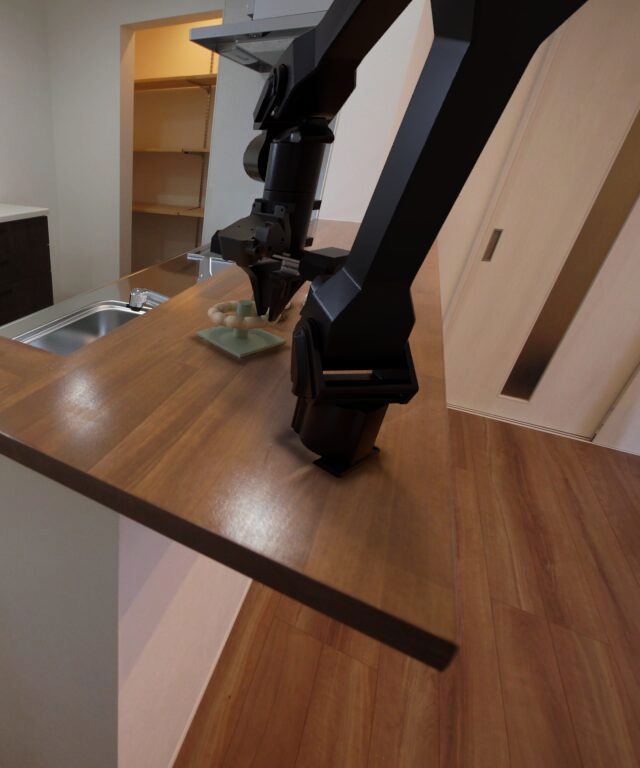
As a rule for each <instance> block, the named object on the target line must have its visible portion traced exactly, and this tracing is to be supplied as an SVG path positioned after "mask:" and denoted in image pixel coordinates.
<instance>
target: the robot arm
mask: <svg viewBox="0 0 640 768" xmlns="http://www.w3.org/2000/svg"><path fill="white" fill-rule="evenodd" d="M413 1H414V0H333V1H332V2H331V4H330V6H329V7H328V9H327V11H326V12H325V14H324V15H323V17H322V18H321V20H320V21H319V22H318V24H317V25H315V26H314V27H312V28H309V30H307V31H305V32H303V33H302V34H301V33H300V34H299V35H297V36H296V37H294V39H293V40H292V41H291V42H290V44H289V45H288V46H287V47H286V49H285V50H284V51H283V53H282V54H281V55H280V57H279V59H278V60H277V62H276V64H274V65H273V66H272V68H271V70H270V72H269V74H268V77H267V78H266V79H265V83H264V85H263V87H262V90H261V91H260V92H261V93H260V94H259V96H258V99H257V102H256V105H255V107H254V110H253V112H252V118H253V123H252V130H253V131H261V133H260V134H258V135H256V136H254V137H253V138H252V139H251V140H250V141H249V143H248V145H246V148H245V151H244V152H243V156H242V165H243V170H244V172H245V174H246V175H247V176H248V177H249V178H250V179H252V180H253V181H255V182H259V183H263V184H264V187H263V192H262V197H258V198H257V197H256V198H254V200H253V201H254V202H252V204H251V210H250V214H249V215H247V216H245V217H244V216H243V217H241V218H239V219H237V220H236V221H234V222H232V223H231V224H229V225H227V226H226V227H224V228H223V229H222V228H221V229H216V231H215V232H214V234H213V235H212V236H211V238H210V246H209V252H210V253H213V254H216V255H219V256H221V259H222V260H223V261H225V262H228V261H231V262H233V263H235V265H236V266H237V267H238V268H241V270H242V271H243V272H245V273H246V275H247V276H248V279H249V282H250V285H251V291H252V295H254V300H255V305H256V311H257V316H263V315H266V313H267V311H268V308H269V313H268V321H269V322H274V321H276V320H277V318H278V317H279V315H280V314H281V313H282V311H283V310H284V311H285V309H284V308H285V307H286V306H287V304H288V303H289V302H290V303H291V300H292V299H293V298H294V296H295V295H296V293H298V291H299V290H300V289H301V288H302V287H303V285H305V283H306V282H310V284H309V287H308V292H307V294H308V295H307V294H306V295H307V299H306V302H305V304H304V306H303V305H302V308H301V309H300V311H299V313H298V315H299V317H300V318H299V320H298V321H297V322H296V324H295V326H294V328H293V330H292V333H291V334H292V336H291V351H290V353H291V354H290V368H289V369H290V370H289V374H290V382H291V384H292V387H291V394H292V395H293V396H295V397H297V399H296V402H295V407H294V410H293V413H292V419H291V423H290V428H291V429H293V433H296V434H297V435H298V437H299V440H300V442H301V444H302V445H303V446H304V447H305V448H306V449H307V450H308V451H310V452H312V453H313V454H315V455H317V456H319V457H318V458H316V459H315V460H313V461H312V462H313V463H315V464H316V465H318V466H319V467H320V468H322V469H323V470H326V471H327V472H328V473H330V474H331V475H333V476H335V477H337V478H338V477H339V478H340V477H343V476H345V475H347V474H348V473H350V472H351V471H353V470H355V469H357V468H358V467H360V466H362V465H364V464H365V463H367V462H369V461H370V460H372V459H374V458H375V457H377V456H379V454H380V453H381V448H380V447H378V446H377V445H375V443H376V440H377V438H378V435H379V434H380V430H381V427H382V425H383V422H384V419H385V417H386V414H387V411H388V408H389V406H390V405H394V404H395V405H396V404H399V405H408V404H409V403H410V402H411V401H412V399H413V398H414V397H415V396H416V395H417V394H418V393H419V391H420V386H419V381H418V376H417V373H416V367H415V363H414V358H413V354H412V349H411V346H410V340H409V339H410V337H411V334H412V332H413V330H414V327H415V324H416V321H417V316H416V310H415V305H414V301H413V300H414V299H413V295H412V289H411V288H412V286H413V283H414V281H415V279H416V277H417V276H418V273H419V271H420V270H421V268H422V265H423V264H424V262H425V260H426V258H427V256H428V254H429V253H430V252H431V251H430V250H431V249H432V247H433V246H434V243H435V241H436V239H437V238H438V237H439V234H440V232H441V231H442V228H443V227H444V224H445V222H446V221H447V219H448V217H449V215H450V213H451V211H452V209H453V207H454V206H455V204H456V202H457V200H458V198H459V196H460V194H461V192H462V191H463V189H464V187H465V186H466V183H467V181H468V179H469V178H470V176H471V174H472V172H473V170H474V169H475V166H476V164H477V163H478V161H479V159H480V157H481V155H482V153H483V151H484V149H485V147H486V146H487V144H488V142H489V141H490V138H491V136H492V135H493V132H494V130H495V128H496V127H497V125H498V123H499V121H500V120H501V118H502V115H503V114H504V113H505V110H506V109H507V106H508V104H509V102H510V100H511V99H512V96H513V95H514V93H515V91H516V89H517V87H518V86H519V84H520V81H521V80H522V78H523V77H524V74H525V73H526V70H527V68H529V67H528V66H529V65H530V63H531V61H532V60H533V58H534V56H535V54H536V53H537V51H538V49H539V48H540V46H541V45H542V44H543V43H544V42H545V41H546V40H547V39H548V38H550V37H551V36H552V35H553V34H554V33H555V32H556V31H557V30H559V28H560V27H562V25H563V24H565V23H566V22H567V21H568V20H569V19H570V18H571V17H572V16H573V15H574V14H576V13H577V12H578V11H579V10H580V9H581V8H582V7H584V5H586V3H587V2H589V1H590V0H429V3H430V11H431V12H430V13H431V19H432V27H433V28H432V29H433V40H432V43H431V46H430V49H429V51H428V53H427V57H426V59H425V62H424V64H423V67H422V69H421V72H420V74H419V76H418V79H417V81H416V84H415V87H414V90H413V92H412V95H411V97H410V99H409V101H408V104H407V107H406V109H405V112H404V114H403V117H402V119H401V121H400V125H399V126H398V129H397V131H396V134H395V137H394V139H393V142H392V145H391V147H390V149H389V152H388V154H387V158H386V160H385V162H384V165H383V168H382V169H381V172H380V175H379V177H378V179H377V182H376V185H375V187H374V190H373V193H372V195H371V197H370V200H369V202H368V205H367V208H366V210H365V212H364V214H363V217H362V220H361V223H360V225H359V228H358V230H357V233H356V234H355V237H354V240H353V243H352V245H351V248H350V250H349V249H344V248H340V247H335V246H329V247H323V248H317V249H312V250H307V249H306V248H311V247H312V246H313V243H314V239H315V237H313V236H308V234H309V228H310V224H311V219H312V215H313V211H320V210H321V206H322V202H323V200H322V199H316V196H317V190H318V187H319V181H320V176H321V173H322V167H323V162H324V159H325V158H324V157H325V152H326V148H327V145H332V144H333V143H334V142H335V139H336V138H335V137H336V136H335V134H334V132H333V130H332V128H330V126H329V125H330V124H331V122H332V121H333V120H334V119H335V117H336V116H337V115H338V114H339V112H340V111H341V110H342V108H343V107H344V106H345V104H346V103H347V101H348V100H349V98H350V97H351V95H352V94H353V93H354V92H355V90H356V89H357V79H358V77H357V76H358V74H357V73H358V68H359V67H360V65H361V64H362V62H363V61H364V60H365V58H366V56H367V55H368V54H369V53H370V52H371V51H372V49H373V48H374V47H375V46H376V45H377V43H379V41H380V40H381V39H382V37H384V35H385V34H386V33H387V32H388V31H389V29H390V28H391V27H392V26H393V24H394V23H395V22H396V21H397V20H398V19H399V17H400V16H401V15H402V14H403V12H405V11H406V9H407V8H408V7H409V5H410V4H411V3H412V2H413ZM284 253H286V254H290V256H289V255H285V254H284ZM349 371H352V372H353V371H355V372H356V371H371V372H369V373H368V372H362V373H361V372H359V373H358V372H357V373H355V372H353V373H324V372H349Z"/></svg>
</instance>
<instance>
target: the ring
mask: <svg viewBox="0 0 640 768" xmlns="http://www.w3.org/2000/svg"><path fill="white" fill-rule="evenodd" d="M238 301H239V300H227V301H221V302H218V303H214V305H212V306H211V307H210V308H209V309H208V310H207V316H208V318H209V319H210V321H211V322H212V323H213V324H216V325H218V326H220V325H221V326H224V327H228V328H236V329H262V330H263V329H265V328H269V327H272V326H275V325H276V324H277V323H278V322H279V321H278V320H279V319H280V317H281V314H280V315H279V317H278V318H277V320H276V321H274V322H269V321H268V313H269V308H268V311H267V313H266V315H263V316H257V317H239V316H236V315H230V314H226V313H236V312H237V305H238ZM250 301H251V300H250ZM251 302H253V306H252V312H254V313H257V311H256V305H255V301H251Z"/></svg>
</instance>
